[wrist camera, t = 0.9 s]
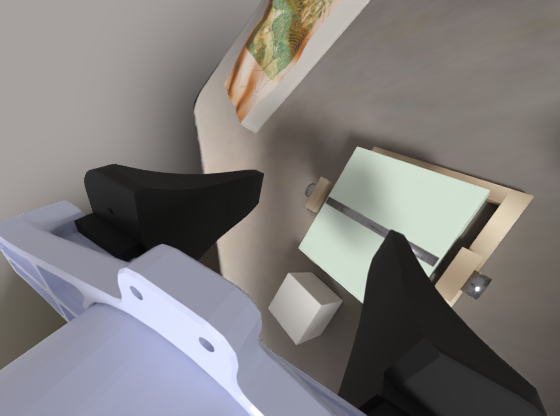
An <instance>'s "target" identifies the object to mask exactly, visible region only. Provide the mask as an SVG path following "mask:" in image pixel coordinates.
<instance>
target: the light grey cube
mask: <svg viewBox="0 0 560 416" xmlns="http://www.w3.org/2000/svg"><path fill="white" fill-rule="evenodd" d="M342 302H343V300H342V299H341V298H340V297H338V296H337V295H336V294H335V293H334V292H333V291H332V290H331V289H330V288H329V287H327V286H326V285H325V284H324V283H323V282H322V281H321V280H320V279H319V278H318V277H316V276H315V275H314V274H313V273H312V272H309V273H288V275H287V276H286V278H285V280H284V281H283V283H282V285H281V287H280V288H279V290H278V292H277V293H276V295H275V297H274V299H273V300H272V302H271V304H270V305H269V307H268V309H269V310H270V312H271V313H272V314H273V316H274V317H275V318H276V319H277V321H278V322H279V323H280V325H281V326H282V327H283V329H284V330H285V331H286V332H287V334H288V335H289V336H290V338H291V339H292V340H293V341H294V343H295V344H296V345H298V344H300V343H303V342H305V341H308V340H310V339H313V338H315V337H317V336H320V335H321V334H322V333H323V331H324V329H325V328H326V326H327V325H328V323H329V322H330V320H331V319H332V317H333V316H334V314H335V312H336V311H337V309H338V308H339V306H340V305H341V303H342Z"/></svg>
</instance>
